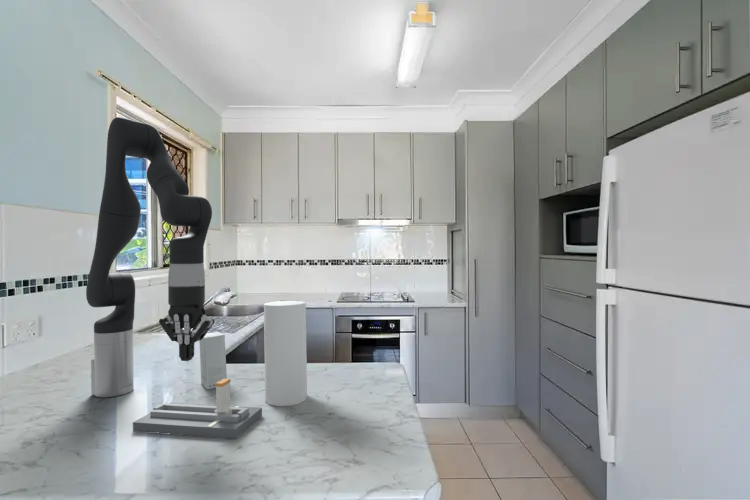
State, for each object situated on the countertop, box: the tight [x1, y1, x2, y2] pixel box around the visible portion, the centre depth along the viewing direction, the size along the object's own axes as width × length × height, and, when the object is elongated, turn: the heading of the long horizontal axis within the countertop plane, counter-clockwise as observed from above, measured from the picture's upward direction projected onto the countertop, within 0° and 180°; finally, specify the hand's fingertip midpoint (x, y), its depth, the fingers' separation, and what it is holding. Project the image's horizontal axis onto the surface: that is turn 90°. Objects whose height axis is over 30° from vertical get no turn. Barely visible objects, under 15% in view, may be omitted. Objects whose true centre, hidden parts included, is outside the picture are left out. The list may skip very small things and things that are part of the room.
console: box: [132, 402, 263, 440], centre depth 93 cm, size 24×12×3 cm, turn 79°
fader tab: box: [214, 378, 232, 414], centre depth 92 cm, size 3×3×8 cm
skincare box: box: [199, 331, 228, 390], centre depth 121 cm, size 8×6×15 cm
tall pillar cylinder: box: [263, 300, 308, 407], centre depth 108 cm, size 11×11×25 cm
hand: (186, 360), depth 94 cm, fingers closed
